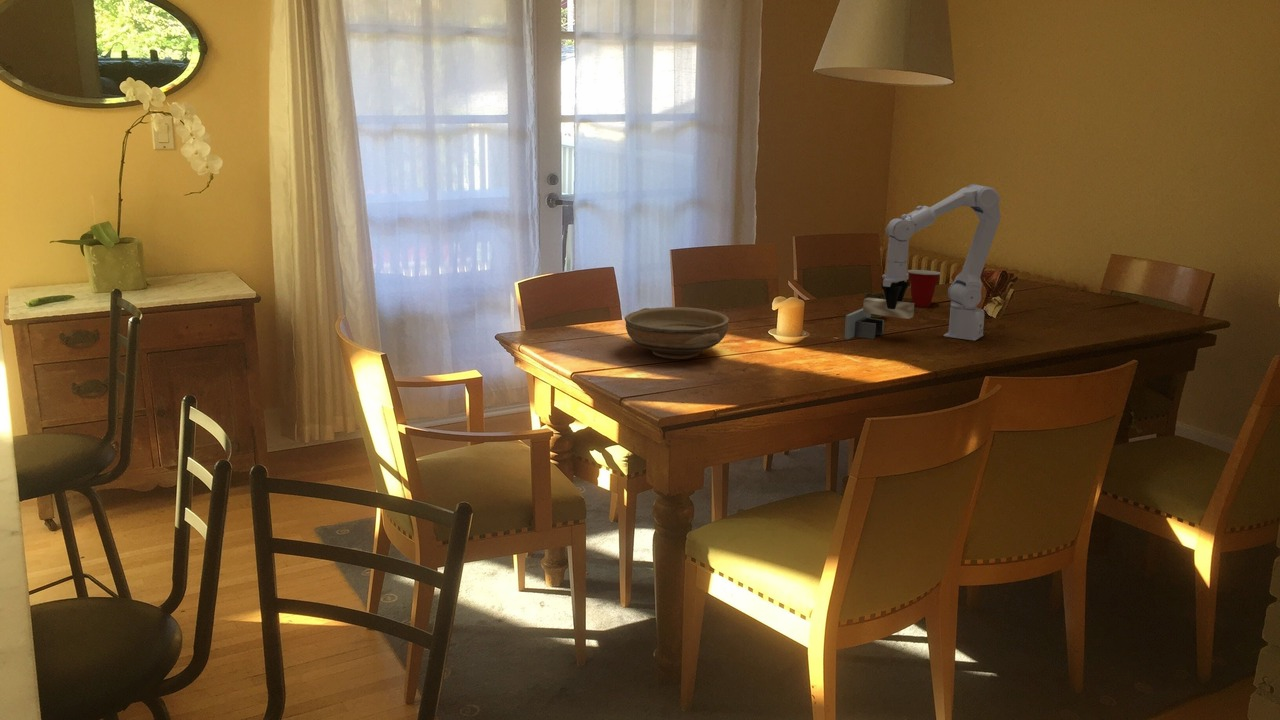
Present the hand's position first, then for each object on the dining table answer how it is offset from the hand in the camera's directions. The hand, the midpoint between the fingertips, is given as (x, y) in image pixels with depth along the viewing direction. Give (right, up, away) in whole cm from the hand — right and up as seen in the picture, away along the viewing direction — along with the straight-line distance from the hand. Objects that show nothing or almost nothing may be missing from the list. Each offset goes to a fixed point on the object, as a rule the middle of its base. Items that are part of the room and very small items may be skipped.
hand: (894, 307), depth 294 cm
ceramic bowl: (-64, -13, -14) cm, 67 cm away
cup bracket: (-6, -8, +6) cm, 11 cm away
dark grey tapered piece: (+1, -2, +28) cm, 29 cm away
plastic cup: (+21, +3, +48) cm, 52 cm away
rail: (-1, -2, +2) cm, 3 cm away
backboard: (-9, -7, +8) cm, 14 cm away
